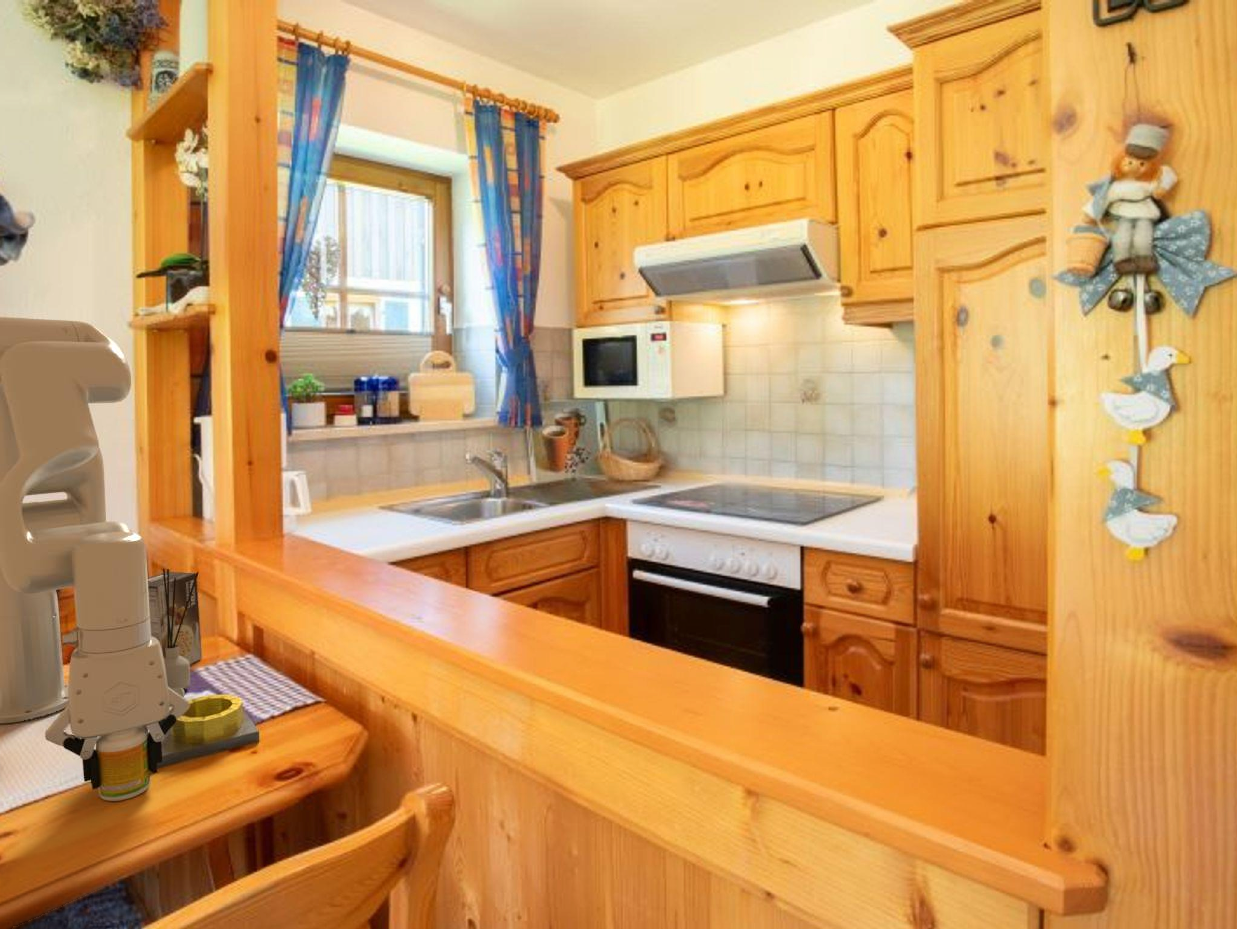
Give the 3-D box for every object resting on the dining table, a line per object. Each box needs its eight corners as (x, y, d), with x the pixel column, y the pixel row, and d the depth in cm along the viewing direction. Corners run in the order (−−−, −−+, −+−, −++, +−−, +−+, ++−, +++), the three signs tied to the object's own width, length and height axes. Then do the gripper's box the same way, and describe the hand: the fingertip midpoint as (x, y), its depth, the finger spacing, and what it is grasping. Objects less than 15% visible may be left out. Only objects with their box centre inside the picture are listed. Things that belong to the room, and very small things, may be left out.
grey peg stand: (117, 778, 101) (110, 677, 99) (108, 746, 109) (101, 652, 108) (259, 741, 111) (254, 648, 109) (240, 714, 120) (236, 628, 118)
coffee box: (172, 656, 144) (167, 570, 142) (203, 659, 142) (198, 572, 141) (132, 675, 135) (126, 583, 133) (164, 678, 133) (158, 585, 132)
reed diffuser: (151, 686, 130) (144, 567, 128) (197, 676, 134) (191, 561, 132) (164, 706, 122) (156, 580, 120) (212, 694, 127) (206, 573, 124)
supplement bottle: (154, 791, 97) (150, 717, 96) (103, 807, 94) (98, 730, 93) (145, 774, 101) (140, 702, 100) (95, 789, 98) (90, 714, 97)
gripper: (27, 659, 87) (39, 813, 89) (200, 630, 97) (207, 768, 100) (25, 640, 93) (37, 785, 95) (188, 614, 103) (195, 745, 106)
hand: (124, 775), depth 97 cm, fingers closed on supplement bottle, 5 cm apart
